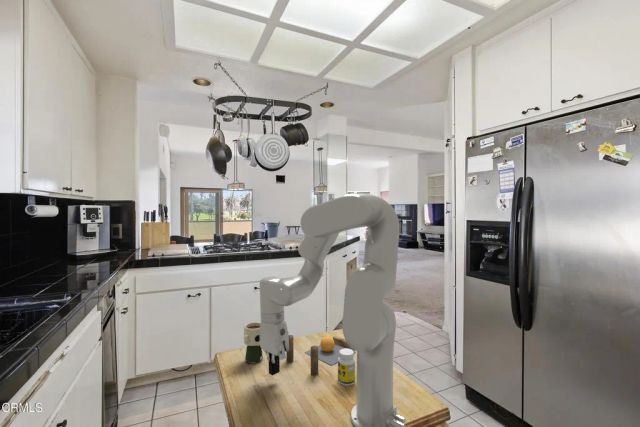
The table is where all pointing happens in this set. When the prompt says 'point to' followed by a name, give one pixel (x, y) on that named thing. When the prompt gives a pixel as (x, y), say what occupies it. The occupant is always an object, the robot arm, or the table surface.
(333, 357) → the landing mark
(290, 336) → the left post
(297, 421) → the table surface
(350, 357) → the supplement bottle
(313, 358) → the right post
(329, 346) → the ball
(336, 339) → the stopper wall
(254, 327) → the character mug
